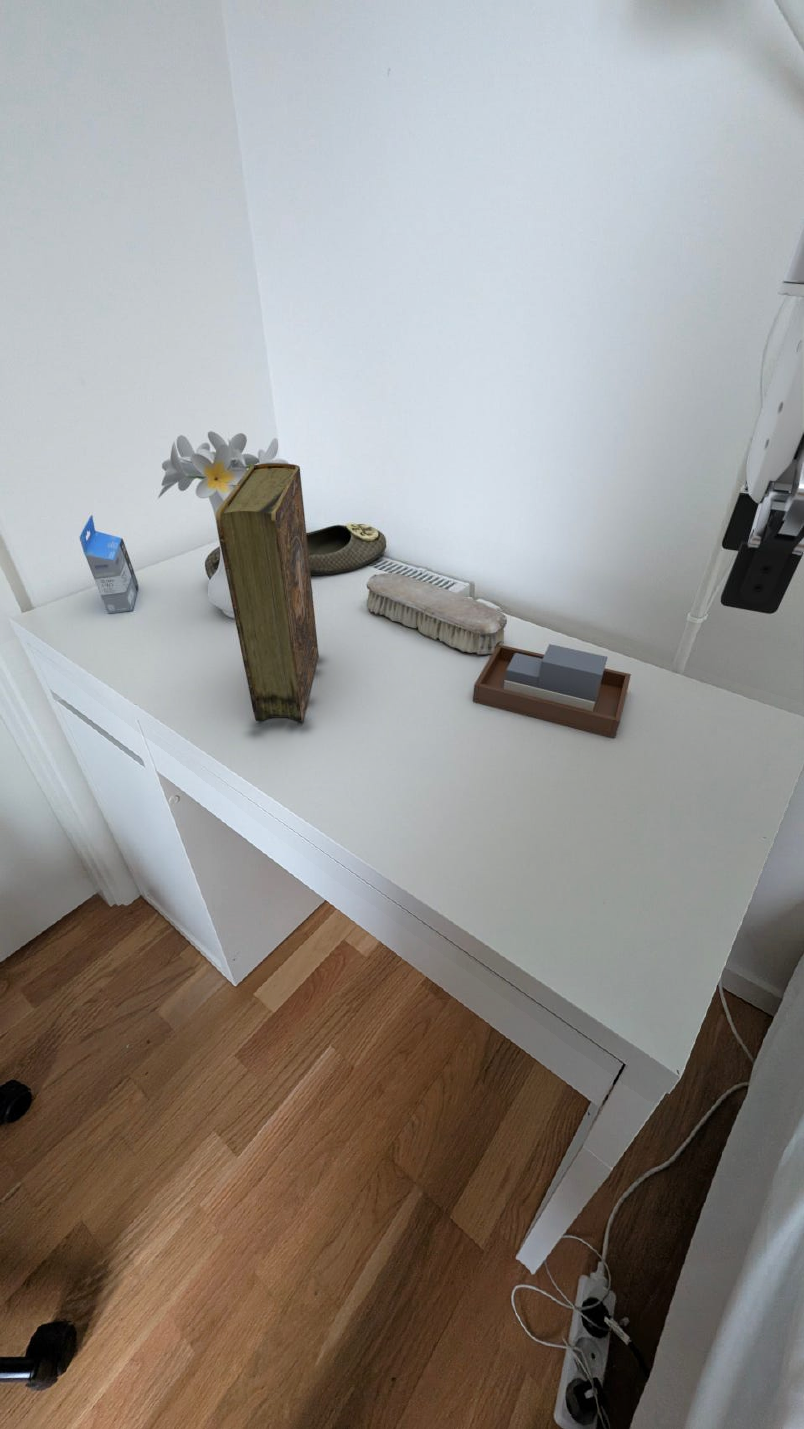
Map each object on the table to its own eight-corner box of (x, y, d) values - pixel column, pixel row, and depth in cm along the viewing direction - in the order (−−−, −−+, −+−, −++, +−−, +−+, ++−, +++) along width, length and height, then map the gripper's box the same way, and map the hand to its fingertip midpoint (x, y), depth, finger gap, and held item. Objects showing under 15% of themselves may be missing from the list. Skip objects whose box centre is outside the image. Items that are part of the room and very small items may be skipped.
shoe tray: (625, 690, 74) (631, 673, 72) (614, 738, 67) (620, 721, 65) (495, 660, 79) (497, 644, 78) (472, 701, 72) (474, 684, 70)
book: (280, 651, 81) (252, 462, 65) (319, 651, 81) (301, 463, 65) (256, 726, 68) (213, 514, 52) (302, 727, 68) (274, 515, 52)
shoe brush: (354, 610, 90) (353, 580, 87) (385, 593, 95) (385, 564, 91) (485, 664, 78) (489, 632, 75) (513, 642, 83) (518, 611, 80)
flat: (399, 563, 104) (399, 521, 99) (216, 601, 92) (206, 556, 87) (373, 541, 111) (372, 502, 107) (202, 574, 100) (192, 531, 95)
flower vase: (314, 595, 94) (297, 427, 78) (230, 645, 82) (191, 458, 66) (255, 575, 99) (229, 415, 84) (169, 620, 87) (119, 442, 72)
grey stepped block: (597, 693, 72) (607, 656, 69) (592, 713, 69) (602, 675, 66) (512, 672, 76) (517, 636, 72) (503, 690, 73) (508, 654, 69)
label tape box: (133, 611, 89) (108, 534, 82) (105, 614, 89) (77, 536, 81) (139, 586, 96) (117, 512, 88) (113, 589, 95) (88, 514, 88)
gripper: (1029, 265, 22) (821, 650, 32) (920, 260, 34) (795, 541, 45) (804, 263, 24) (679, 623, 35) (778, 259, 36) (692, 526, 47)
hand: (744, 576), depth 40 cm, fingers open, 9 cm apart
